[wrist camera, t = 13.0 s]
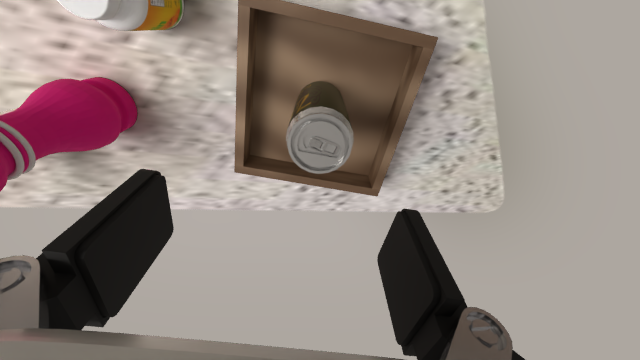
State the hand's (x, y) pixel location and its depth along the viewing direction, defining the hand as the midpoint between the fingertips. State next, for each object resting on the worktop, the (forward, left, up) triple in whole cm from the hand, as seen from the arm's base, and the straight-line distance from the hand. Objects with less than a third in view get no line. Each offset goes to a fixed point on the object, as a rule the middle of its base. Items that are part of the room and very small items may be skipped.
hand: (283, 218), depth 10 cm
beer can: (+1, +2, -22) cm, 22 cm away
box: (+1, +2, -22) cm, 23 cm away
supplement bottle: (-6, -16, -23) cm, 29 cm away
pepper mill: (+6, -23, -23) cm, 33 cm away
